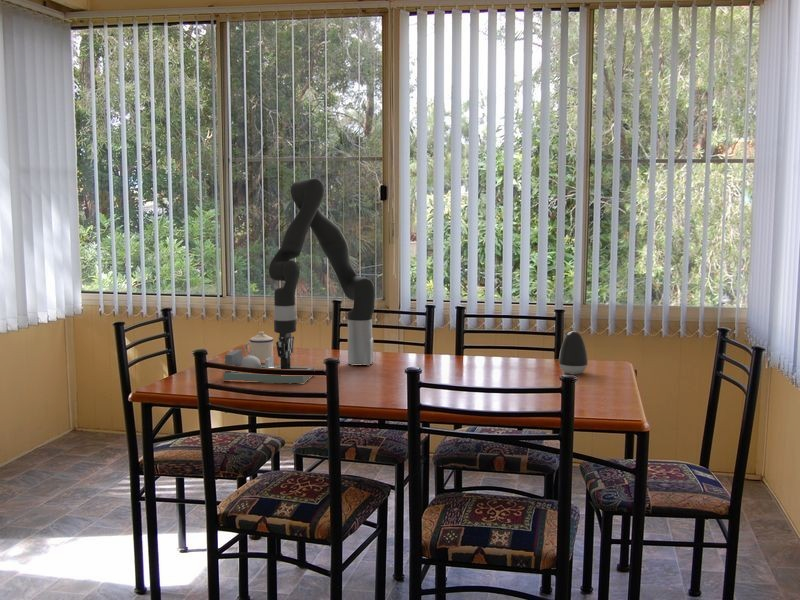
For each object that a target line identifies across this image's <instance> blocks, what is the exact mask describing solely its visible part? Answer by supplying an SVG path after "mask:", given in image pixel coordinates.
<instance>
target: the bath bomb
mask: <svg viewBox="0 0 800 600" xmlns="http://www.w3.org/2000/svg"><path fill="white" fill-rule="evenodd" d="M239 366H243V367H253V368H262V366H263V365H262V364H261V362H260V360H259V359H258V358H257V357H255V356H251V355H247V356H243V358H242V359H241V361H240V363H239Z"/></svg>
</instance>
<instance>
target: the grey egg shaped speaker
mask: <svg viewBox="0 0 800 600" xmlns="http://www.w3.org/2000/svg"><path fill="white" fill-rule="evenodd" d="M564 333H565V337H564V339H563V341H562V343H561V348H560V351H559V356H558V365H559V367H560V369H561V371H562V372H563V373H564V374H567V373H573V374H572V375H580V374H582V373H584V371H586V368H587V366H588V363H589V361H588V360H589V359H588V353H587V352H588V351H587V349H586V348H587V347H586V345H585V342H584V338H583V337H582V335H581V334H580V333H579V332H578V331H574V330H573V331H570V332H569V331H565V332H564Z"/></svg>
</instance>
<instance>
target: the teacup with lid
mask: <svg viewBox="0 0 800 600" xmlns="http://www.w3.org/2000/svg"><path fill="white" fill-rule="evenodd" d="M248 345H250V350H249V351H248ZM243 348H244V352H245V354H247V356H249V355H251V356H255V357H257V358H258V359H259V360H265V359H267V358H269V357H273V358H274V337H271V336H269V335H267V334H265V332H264V331H258V334H255V336H253V337H250V338H249V341H248V342H245V343H244V345H243Z"/></svg>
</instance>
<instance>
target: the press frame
mask: <svg viewBox="0 0 800 600" xmlns="http://www.w3.org/2000/svg"><path fill="white" fill-rule="evenodd" d="M242 358H244V356H243V349H234V350H232V351H229V352H228V353H226V354H225V355H224V360H225V361H224V365H225V364H226V365H235V366H239V363H240V361H241V359H242ZM274 367H278V368H281V365H279V366H278V365H274ZM262 368H265V365H262ZM290 369H307V370H314V371H315V366H290ZM224 371H225V370H224ZM222 376H223V381H224V380H244V381H258V382H267V383H266V384H274V383H289V384H288V385H292V384H291V383H304V382H305V381H306V380H307V379H309V377H311V376H281V375H265V374H249V373H238V372H231V371H225V372H223V375H222ZM309 380H310V379H309ZM304 384H305V383H304Z"/></svg>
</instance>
